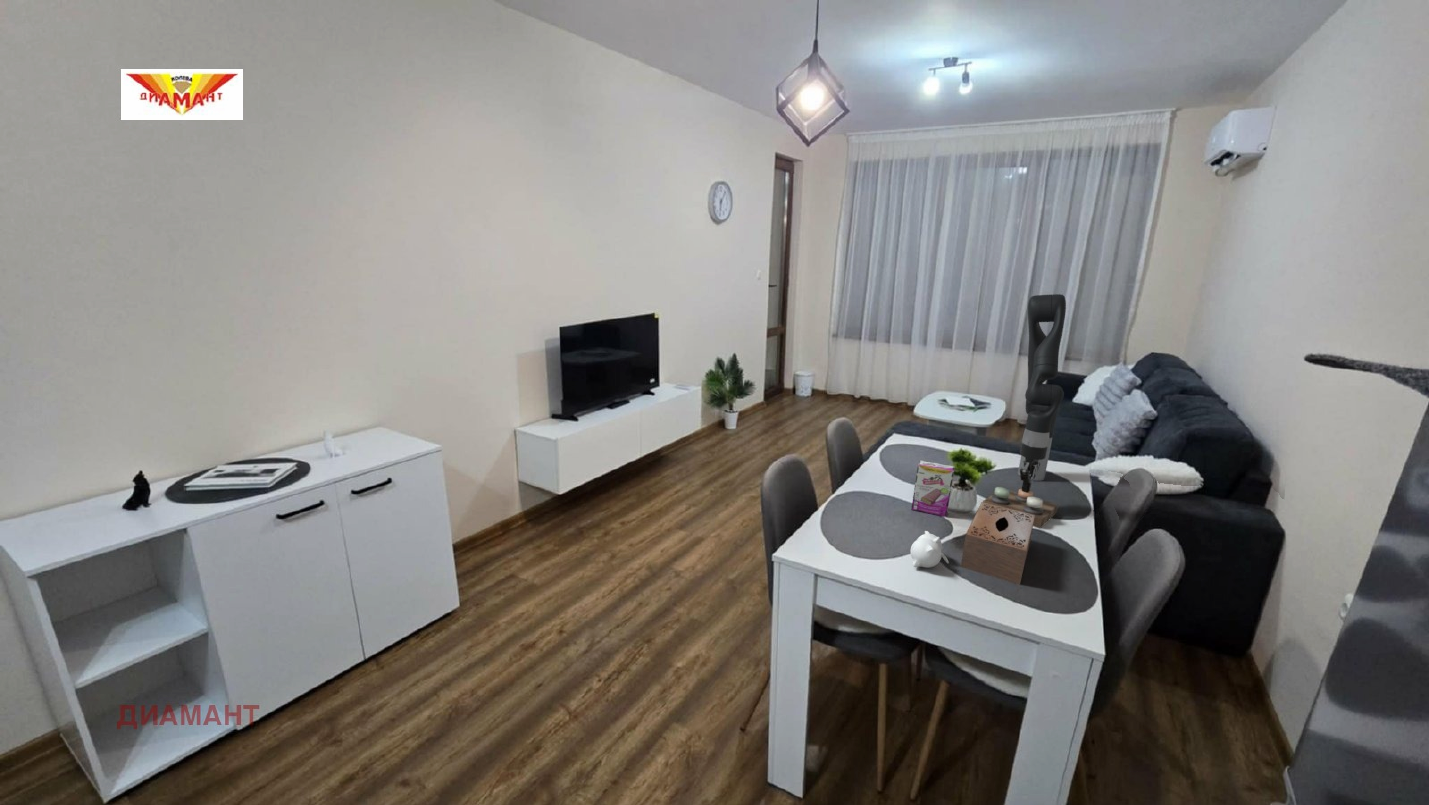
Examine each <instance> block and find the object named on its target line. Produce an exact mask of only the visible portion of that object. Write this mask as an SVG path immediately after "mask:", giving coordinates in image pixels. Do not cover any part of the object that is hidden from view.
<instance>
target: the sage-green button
mask: <svg viewBox="0 0 1429 805" xmlns="http://www.w3.org/2000/svg"><path fill="white" fill-rule="evenodd" d="M1010 491H1011V490H1010V489H1008V488H1006V487H1002V486H996V487H995V488H994V493H993V494H995V495H996V496H998V497H1001V498H1008V497H1009V493H1010Z"/></svg>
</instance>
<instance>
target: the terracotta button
mask: <svg viewBox="0 0 1429 805" xmlns="http://www.w3.org/2000/svg"><path fill="white" fill-rule="evenodd" d="M1017 493H1018V497H1020V498H1022V499H1027V497H1034V491H1033V490H1030V491H1029V492H1028V493H1026V492H1023V491H1022V488H1020V489H1018V492H1017Z"/></svg>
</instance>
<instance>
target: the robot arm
mask: <svg viewBox="0 0 1429 805" xmlns="http://www.w3.org/2000/svg"><path fill="white" fill-rule="evenodd" d="M1065 297H1066V296H1064V294H1059V293H1058V294H1057V293H1055V294H1039V295H1033V296H1031V297H1030V298H1029V299H1028V303H1027V320H1028V321H1027V322H1028V324H1027V325H1028V347H1027V348H1028V350H1027V389H1026V390H1025V395H1024V398H1025V412H1026V414H1027V417H1026V421H1025V422H1026V423H1025V428H1024V432H1023V434H1022V435H1023V436H1022V440H1021V445H1020V451H1019V454H1020V459H1019V465H1018V471H1017V475H1018V476H1019V477H1020V481H1022V486H1021V489H1022V491H1023V492H1026V493H1028V492H1029V491H1031V488H1032V483H1033V481H1037V482H1038V481H1044V480H1045V477H1046V472H1047V467H1048V461H1049V457H1050V452H1051V447H1052V443H1053V442H1052V441H1053V436H1054V431H1055V427H1056V422H1057V419H1058V415H1059V412H1060V407H1061V403H1062V402H1063V399H1064V397H1065V396H1064V395H1065V392H1064V390H1063V387H1061V386H1060V385H1058V384H1049V383H1045V382H1046V381H1050V380H1054V379H1056V378H1057V376H1058V374H1059V373H1058V372H1059V354H1060V346H1061V342H1062V337H1063V333H1064V332H1063V331H1064V326H1065V320H1066V319H1065V318H1066V310H1067V301H1066V298H1065ZM1040 323H1052V327H1051V329H1050V331H1049V332H1048V334H1047V335H1046V334H1045V332H1044V331H1043V329H1042V327H1041V325H1040Z"/></svg>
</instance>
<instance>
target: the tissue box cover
mask: <svg viewBox="0 0 1429 805" xmlns="http://www.w3.org/2000/svg"><path fill="white" fill-rule="evenodd" d="M977 508H978V509H977V511H976V513H975V515H974V517H973V519H972V521H971V523H970V525H969V527H968V529H967V531H966V533H965V537H964V542H963V543H964V544H963V549H962V555H961V562H960V567H961V568H963V569H967V570H970V571H973V572H976V573H980V574H982V575H983V574H984V575H987V576H990V577H993V578H995V579H996V578H997V579H999V580H1003V581H1007V582H1009V583H1013V584H1017V585H1018V586H1020V585H1021V582H1022V578H1023V572H1024V568H1025V564H1026V561H1027V556H1028V552H1029V548H1030V543H1031V538H1032V533H1033V527H1034V526H1033V524H1034V518H1035V515H1033V514H1029V513H1025V512H1021V511H1017V510H1013V509H1009V508H1004V507H1000V506H996V505H992V504H988V503H984V502H983V501H981V502H980V505H979V507H977Z"/></svg>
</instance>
